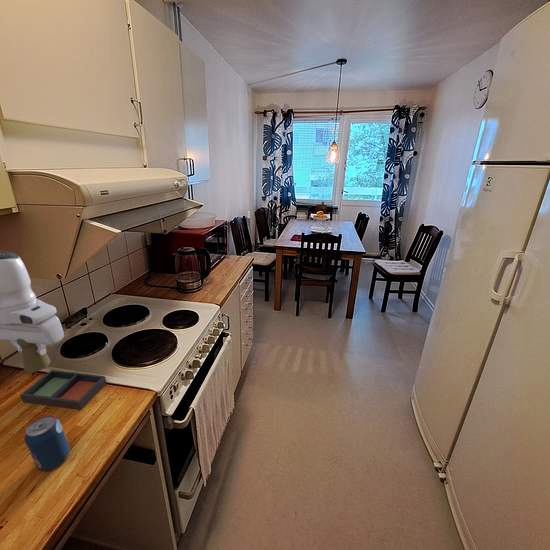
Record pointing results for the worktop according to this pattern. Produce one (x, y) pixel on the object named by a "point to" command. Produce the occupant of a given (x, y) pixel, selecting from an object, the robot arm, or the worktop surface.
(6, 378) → the worktop surface
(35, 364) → the olive green rounded piece
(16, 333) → the robot arm
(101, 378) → the sorting tray
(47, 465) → the soda can
